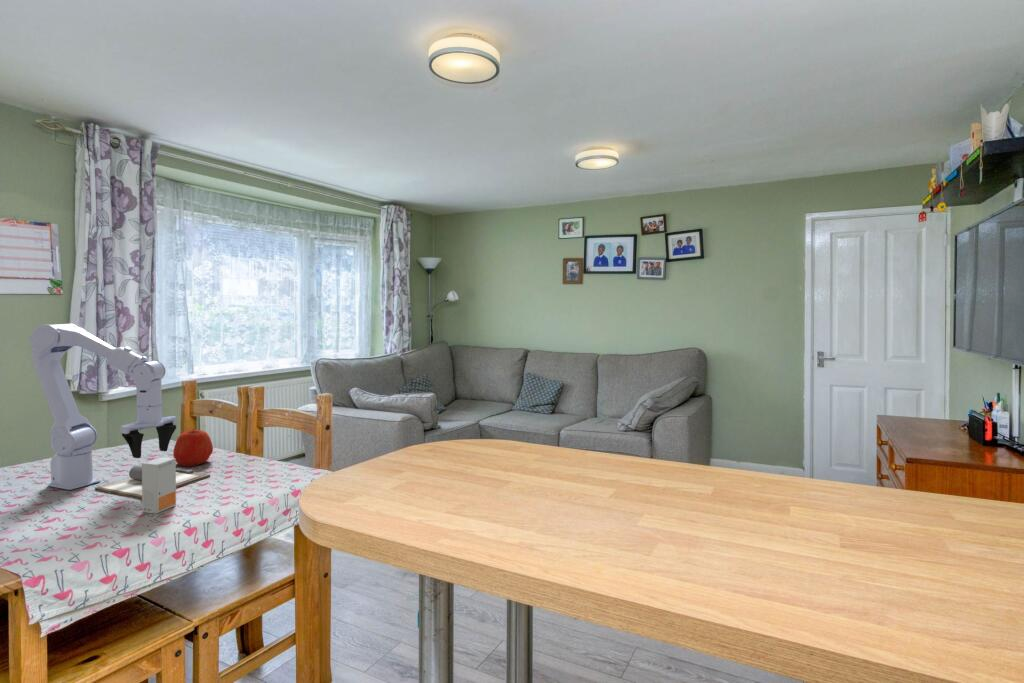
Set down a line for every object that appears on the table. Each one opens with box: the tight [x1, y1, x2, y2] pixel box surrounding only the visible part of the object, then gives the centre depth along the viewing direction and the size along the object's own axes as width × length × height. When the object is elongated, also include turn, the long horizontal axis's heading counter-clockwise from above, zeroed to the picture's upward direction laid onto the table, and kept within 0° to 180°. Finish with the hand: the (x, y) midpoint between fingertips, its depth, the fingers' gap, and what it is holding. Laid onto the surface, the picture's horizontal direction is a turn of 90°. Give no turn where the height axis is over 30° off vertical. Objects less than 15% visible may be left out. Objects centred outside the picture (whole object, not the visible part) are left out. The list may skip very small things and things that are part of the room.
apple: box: [172, 429, 214, 467], centre depth 171 cm, size 11×11×11 cm
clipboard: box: [94, 467, 211, 500], centre depth 152 cm, size 18×20×1 cm
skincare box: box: [141, 457, 177, 515], centre depth 133 cm, size 6×4×12 cm
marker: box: [128, 465, 142, 480], centre depth 151 cm, size 13×4×4 cm, turn 70°
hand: (150, 454), depth 151 cm, fingers open, 7 cm apart
